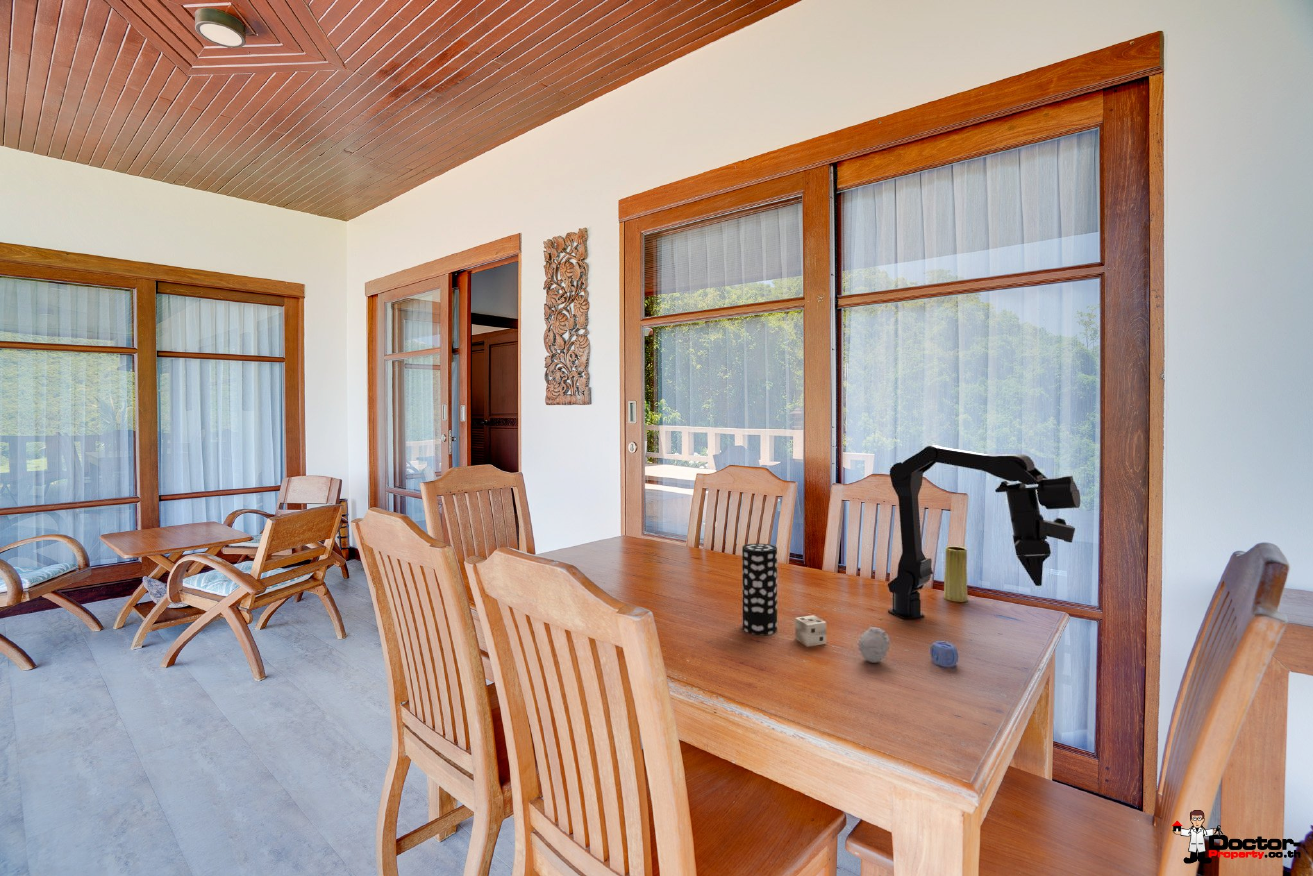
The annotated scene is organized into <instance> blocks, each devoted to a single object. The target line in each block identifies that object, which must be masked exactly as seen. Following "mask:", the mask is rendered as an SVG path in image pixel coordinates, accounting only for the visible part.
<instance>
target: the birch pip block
mask: <svg viewBox="0 0 1313 876" xmlns="http://www.w3.org/2000/svg"><path fill="white" fill-rule="evenodd" d="M794 619H795V620H794V621H795V622H794V630H795V631H794V632H795V633H794V635H795V636H794V638H795V640H796V641H798V642H800V643H801V644H802V645H804V646H805V647H807V648H808V647H809V648H810V647H815V646H820V645H826V644H827V621H825V620H823V619H821V618H819V617H818V616H816V615H814V614H813V615H812V614H811V615H807V616H805V615H804V616H800V617H795V618H794Z"/></svg>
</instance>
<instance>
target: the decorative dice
mask: <svg viewBox="0 0 1313 876" xmlns="http://www.w3.org/2000/svg"><path fill="white" fill-rule="evenodd" d="M929 651H930V652H929V653H930V654H929V655H930V657H931V660H932V662H933V663H934V664H935V665H936V666H939V667H943V668H953V667H955V666H956V665H957V664H958V662H959V657H960V656H959V652H958V649H957V647H956V646H955V645H954V644H953V643H951V642H947V641H943V640H940V641H939V640H938V641H935V642H934V643H932V644H931V646H930V649H929Z"/></svg>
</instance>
